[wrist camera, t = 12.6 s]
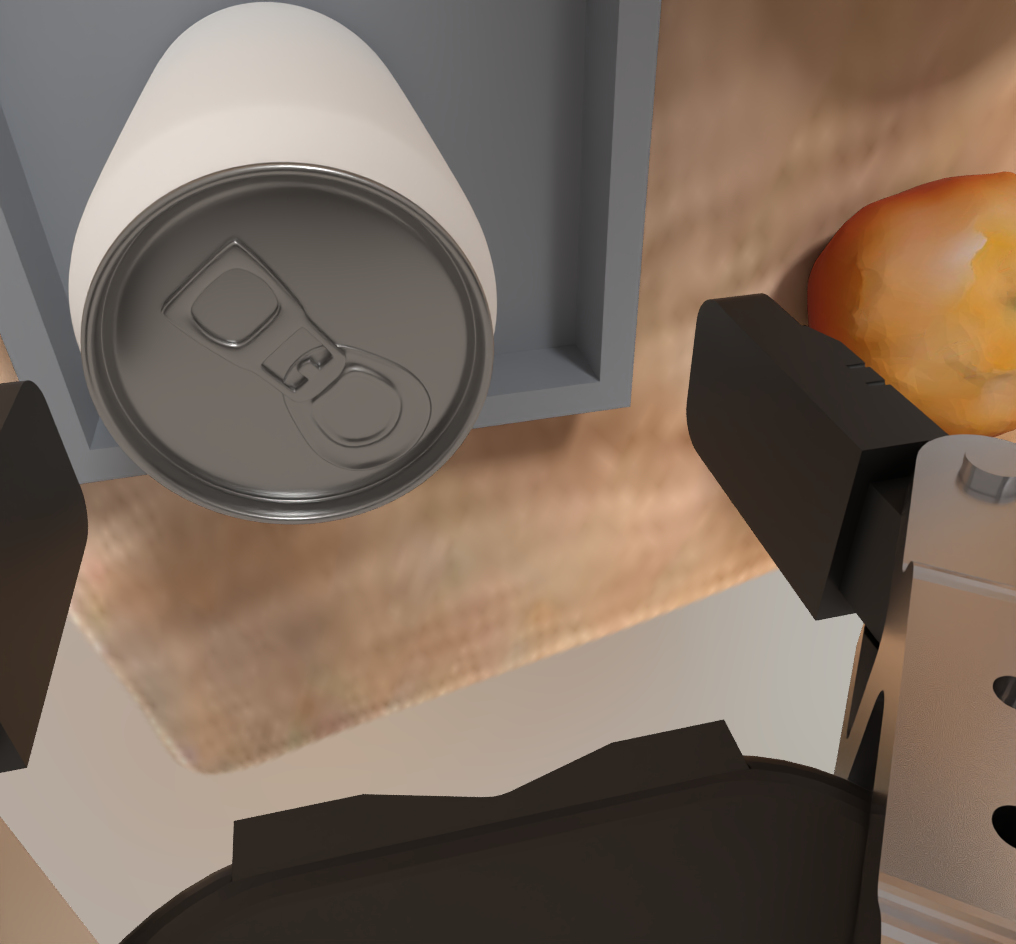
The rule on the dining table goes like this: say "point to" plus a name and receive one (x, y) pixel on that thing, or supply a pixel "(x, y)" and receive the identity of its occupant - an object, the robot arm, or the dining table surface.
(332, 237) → the can
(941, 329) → the fruit
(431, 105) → the tray
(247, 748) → the dining table surface
